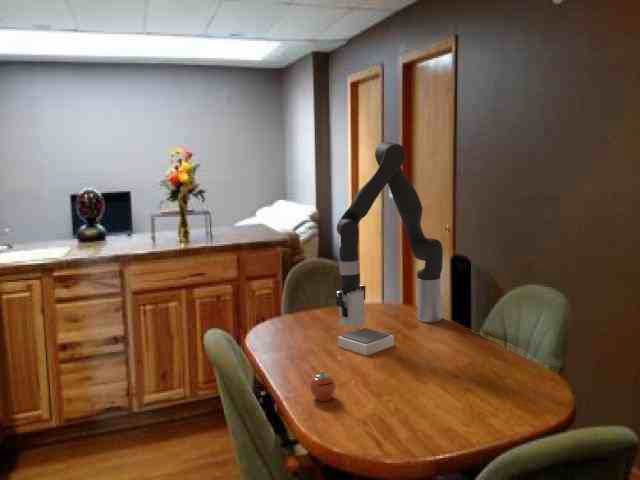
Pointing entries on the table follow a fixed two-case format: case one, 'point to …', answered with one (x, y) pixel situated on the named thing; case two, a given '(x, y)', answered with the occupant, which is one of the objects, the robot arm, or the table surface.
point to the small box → (353, 309)
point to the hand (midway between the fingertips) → (351, 314)
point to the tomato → (322, 387)
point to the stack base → (365, 341)
